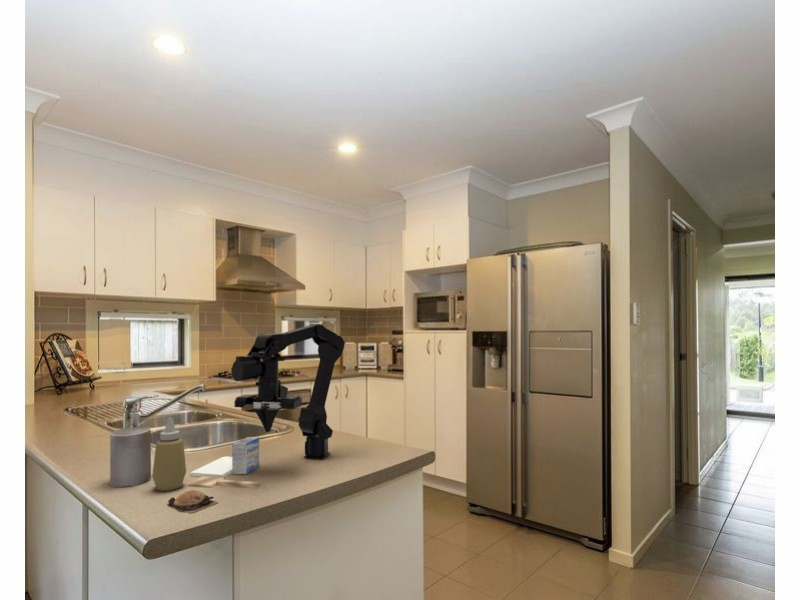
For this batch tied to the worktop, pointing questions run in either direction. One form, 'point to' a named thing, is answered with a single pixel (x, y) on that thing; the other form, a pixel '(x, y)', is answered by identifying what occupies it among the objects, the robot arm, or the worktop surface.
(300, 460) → the worktop surface
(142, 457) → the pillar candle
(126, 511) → the worktop surface
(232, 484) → the wooden turner
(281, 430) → the worktop surface
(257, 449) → the medicine box
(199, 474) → the mat
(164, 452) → the squeeze bottle
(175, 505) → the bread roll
